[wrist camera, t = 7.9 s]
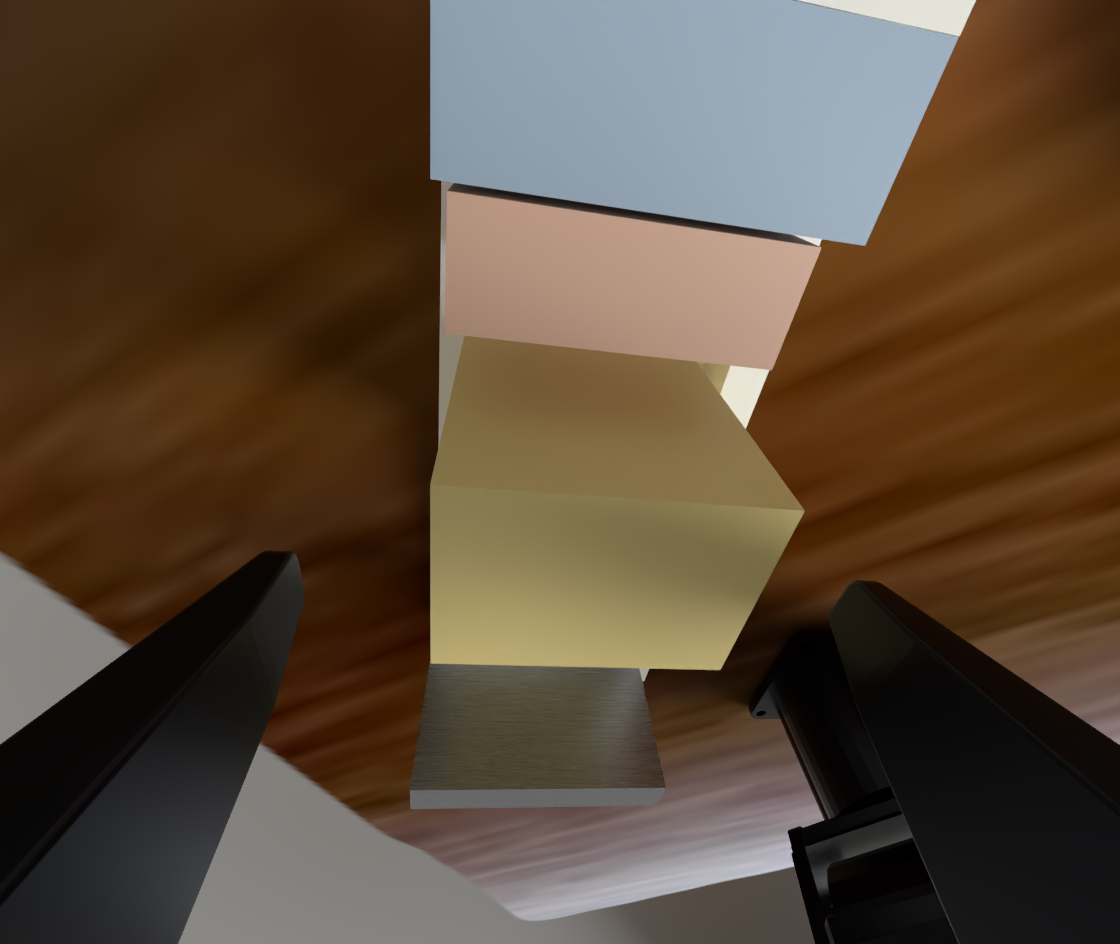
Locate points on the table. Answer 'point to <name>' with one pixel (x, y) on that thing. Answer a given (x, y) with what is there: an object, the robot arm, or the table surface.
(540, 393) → the ochre book
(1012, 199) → the table surface
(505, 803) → the bookend
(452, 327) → the shelf
